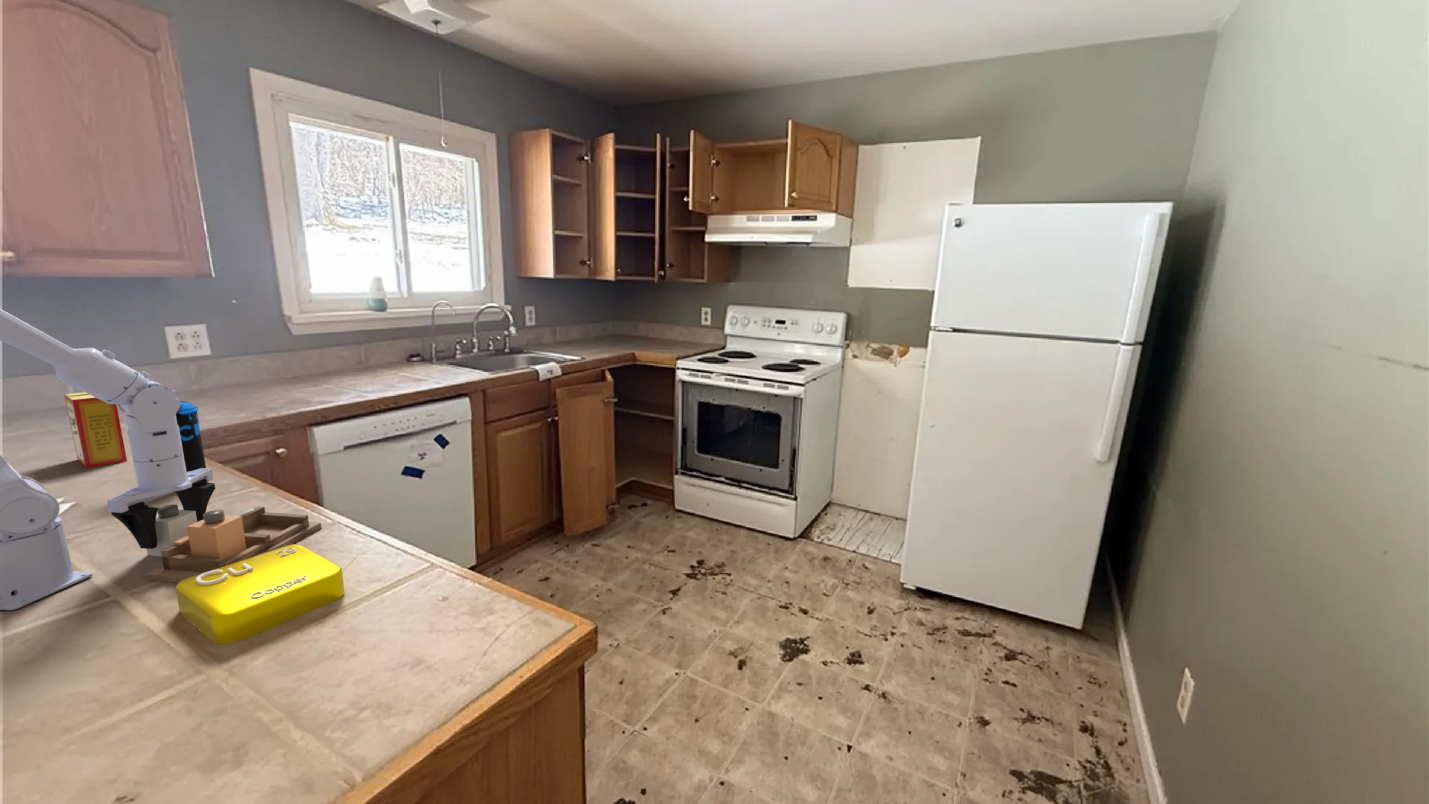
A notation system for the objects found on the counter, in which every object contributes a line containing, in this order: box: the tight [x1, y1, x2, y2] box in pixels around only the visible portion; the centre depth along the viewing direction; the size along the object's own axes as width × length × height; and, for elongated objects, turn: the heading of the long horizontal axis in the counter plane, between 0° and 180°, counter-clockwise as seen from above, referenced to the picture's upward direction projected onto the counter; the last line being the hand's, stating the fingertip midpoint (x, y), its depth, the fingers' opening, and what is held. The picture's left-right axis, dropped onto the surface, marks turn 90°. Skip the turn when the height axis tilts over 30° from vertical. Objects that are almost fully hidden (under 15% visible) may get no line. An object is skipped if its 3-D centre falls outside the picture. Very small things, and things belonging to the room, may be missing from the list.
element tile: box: [175, 543, 345, 645], centre depth 79 cm, size 15×15×5 cm
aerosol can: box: [172, 389, 207, 472], centre depth 119 cm, size 8×8×20 cm
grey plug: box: [146, 504, 197, 557], centre depth 92 cm, size 4×4×7 cm
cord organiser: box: [146, 506, 322, 583], centre depth 93 cm, size 20×11×4 cm, turn 176°
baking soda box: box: [63, 391, 128, 469], centre depth 131 cm, size 10×6×16 cm
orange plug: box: [187, 509, 246, 561], centre depth 88 cm, size 4×4×7 cm
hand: (173, 536), depth 92 cm, fingers open, 7 cm apart
